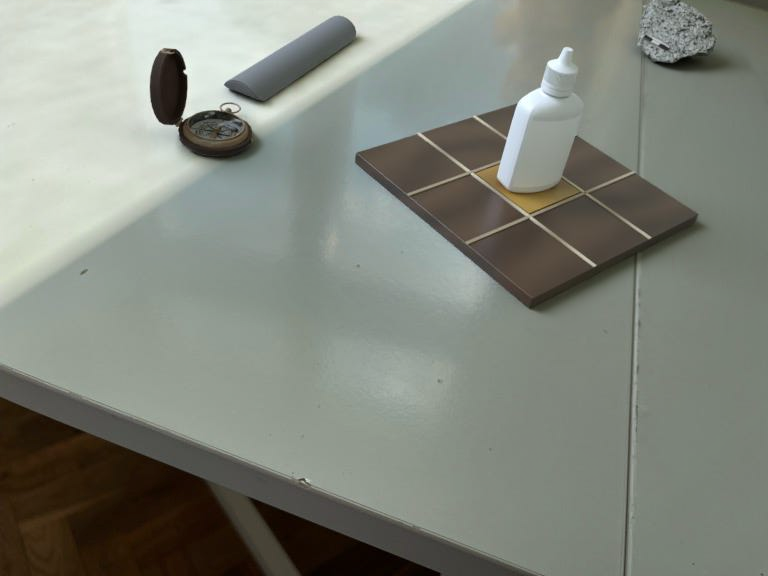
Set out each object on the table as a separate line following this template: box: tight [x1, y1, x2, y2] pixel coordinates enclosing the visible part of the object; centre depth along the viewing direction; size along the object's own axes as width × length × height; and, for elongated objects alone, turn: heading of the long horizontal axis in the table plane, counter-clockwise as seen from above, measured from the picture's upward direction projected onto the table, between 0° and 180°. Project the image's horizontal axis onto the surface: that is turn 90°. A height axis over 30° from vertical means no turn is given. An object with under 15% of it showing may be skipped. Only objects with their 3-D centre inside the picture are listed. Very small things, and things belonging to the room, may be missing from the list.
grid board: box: [354, 102, 700, 309], centre depth 67 cm, size 21×21×1 cm
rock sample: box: [636, 0, 719, 64], centre depth 93 cm, size 10×8×9 cm
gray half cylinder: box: [223, 15, 357, 101], centre depth 79 cm, size 4×20×2 cm, turn 153°
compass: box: [149, 47, 254, 158], centre depth 65 cm, size 8×8×7 cm
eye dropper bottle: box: [497, 46, 585, 193], centre depth 63 cm, size 4×6×12 cm
